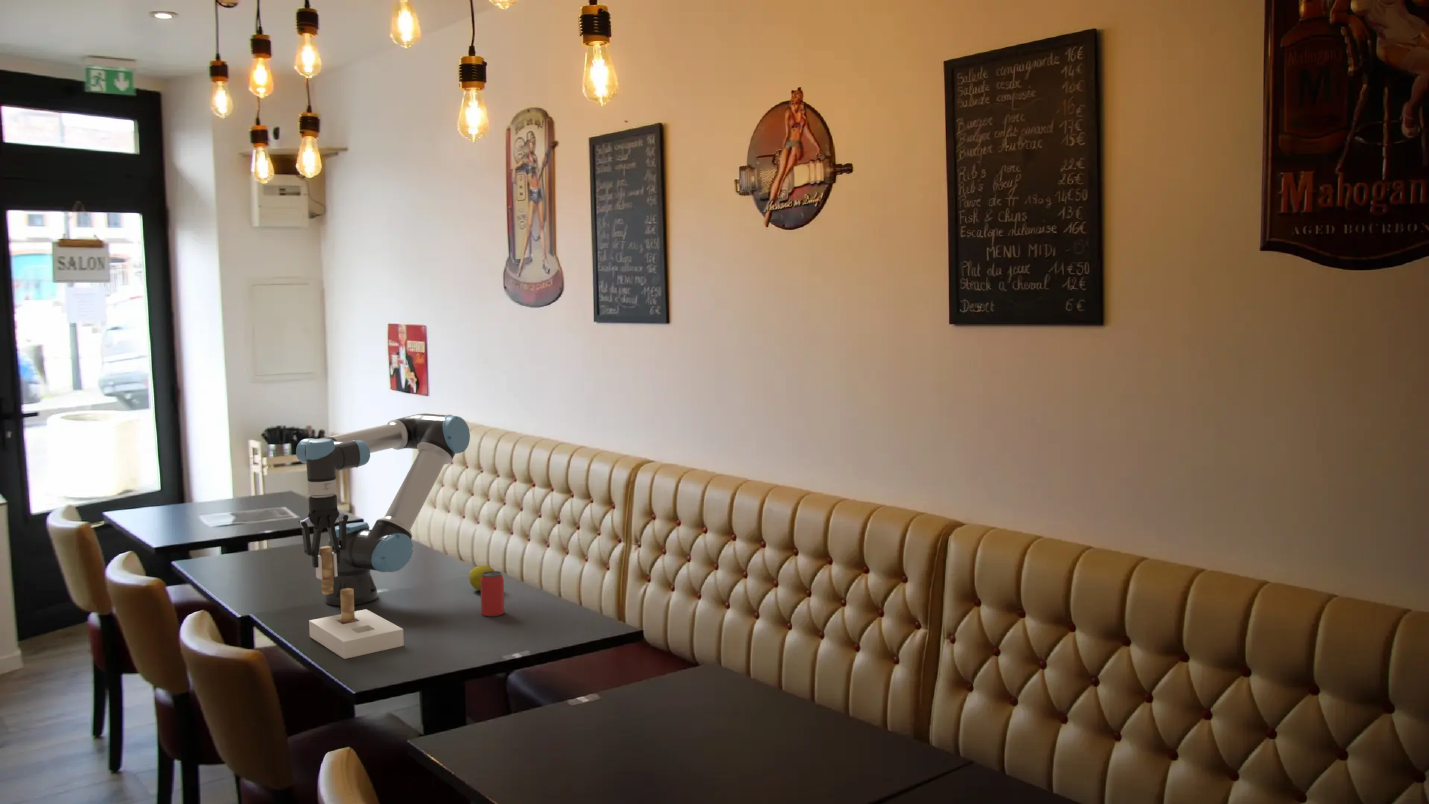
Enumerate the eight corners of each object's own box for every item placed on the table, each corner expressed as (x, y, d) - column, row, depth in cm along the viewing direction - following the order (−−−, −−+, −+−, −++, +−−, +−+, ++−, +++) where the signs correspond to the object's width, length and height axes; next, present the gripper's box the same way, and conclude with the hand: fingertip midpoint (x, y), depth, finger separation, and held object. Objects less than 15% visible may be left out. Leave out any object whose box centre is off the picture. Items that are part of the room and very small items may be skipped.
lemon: (503, 592, 341) (502, 566, 340) (481, 596, 336) (480, 571, 335) (485, 585, 349) (485, 560, 348) (463, 589, 344) (463, 564, 343)
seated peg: (352, 633, 300) (350, 587, 298) (357, 636, 297) (356, 590, 296) (339, 636, 297) (337, 589, 296) (344, 639, 295) (342, 592, 293)
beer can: (499, 617, 314) (498, 576, 313) (477, 616, 315) (476, 575, 314) (507, 611, 320) (507, 571, 319) (486, 610, 321) (485, 570, 320)
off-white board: (366, 624, 308) (366, 609, 307) (403, 645, 289) (403, 629, 289) (309, 636, 297) (309, 620, 297) (344, 659, 279) (343, 641, 279)
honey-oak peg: (331, 590, 311) (329, 545, 309) (336, 593, 308) (334, 547, 306) (319, 592, 308) (316, 547, 307) (323, 595, 305) (321, 549, 304)
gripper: (297, 501, 297) (302, 585, 299) (357, 492, 307) (360, 574, 310) (287, 497, 302) (292, 579, 305) (346, 489, 313) (350, 569, 316)
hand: (326, 576), depth 307 cm, fingers closed on honey-oak peg, 3 cm apart
